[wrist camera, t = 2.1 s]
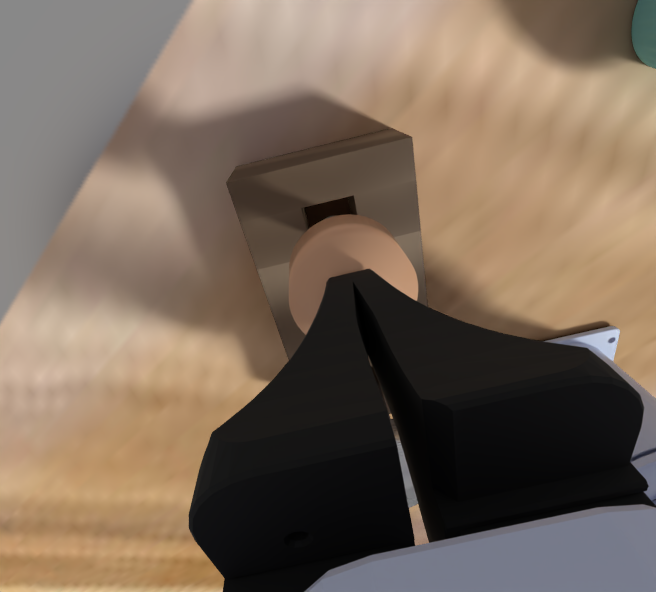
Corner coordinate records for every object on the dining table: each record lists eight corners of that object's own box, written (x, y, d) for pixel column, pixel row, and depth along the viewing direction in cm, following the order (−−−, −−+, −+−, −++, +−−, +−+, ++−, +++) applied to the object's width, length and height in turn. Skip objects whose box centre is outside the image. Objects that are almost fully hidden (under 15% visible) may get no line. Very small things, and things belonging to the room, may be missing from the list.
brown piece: (419, 366, 26) (436, 403, 23) (311, 391, 27) (313, 430, 24) (392, 128, 18) (411, 136, 15) (236, 166, 19) (226, 182, 16)
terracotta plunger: (383, 259, 17) (423, 334, 12) (301, 279, 18) (306, 361, 12) (370, 175, 15) (411, 221, 10) (278, 197, 16) (272, 254, 10)
